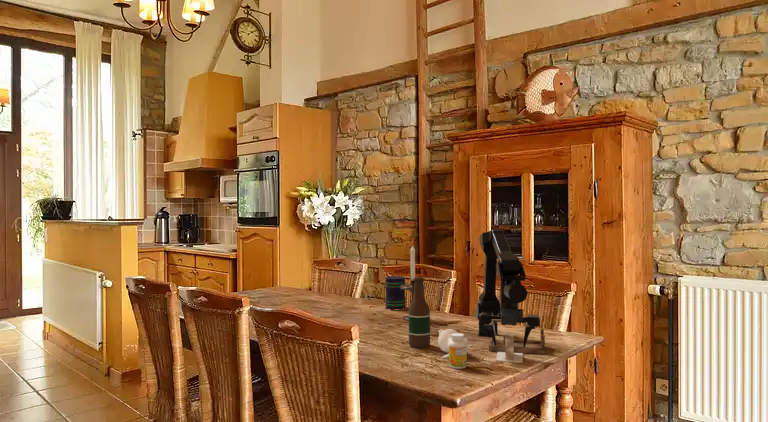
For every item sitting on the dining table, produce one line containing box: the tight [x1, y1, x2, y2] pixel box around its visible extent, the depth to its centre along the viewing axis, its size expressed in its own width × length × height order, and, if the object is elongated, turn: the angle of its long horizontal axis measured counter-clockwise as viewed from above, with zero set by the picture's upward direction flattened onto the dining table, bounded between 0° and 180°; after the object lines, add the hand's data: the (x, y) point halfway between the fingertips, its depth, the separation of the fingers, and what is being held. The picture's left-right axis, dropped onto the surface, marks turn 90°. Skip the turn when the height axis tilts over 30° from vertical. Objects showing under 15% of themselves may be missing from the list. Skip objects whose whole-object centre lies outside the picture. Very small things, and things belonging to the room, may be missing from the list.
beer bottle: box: [408, 276, 431, 349], centre depth 192 cm, size 8×8×24 cm
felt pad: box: [495, 352, 524, 364], centre depth 176 cm, size 8×10×1 cm
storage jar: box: [384, 275, 407, 310], centre depth 263 cm, size 10×10×15 cm
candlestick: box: [400, 237, 427, 322], centre depth 237 cm, size 11×11×35 cm
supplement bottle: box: [448, 332, 468, 370], centre depth 167 cm, size 5×5×10 cm
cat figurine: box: [437, 328, 472, 359], centre depth 180 cm, size 9×11×12 cm
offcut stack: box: [493, 335, 505, 345], centre depth 188 cm, size 4×7×2 cm, turn 166°
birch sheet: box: [504, 331, 515, 360], centre depth 175 cm, size 2×8×7 cm, turn 166°
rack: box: [488, 328, 546, 355], centre depth 187 cm, size 18×10×6 cm, turn 76°
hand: (509, 346), depth 176 cm, fingers open, 9 cm apart
